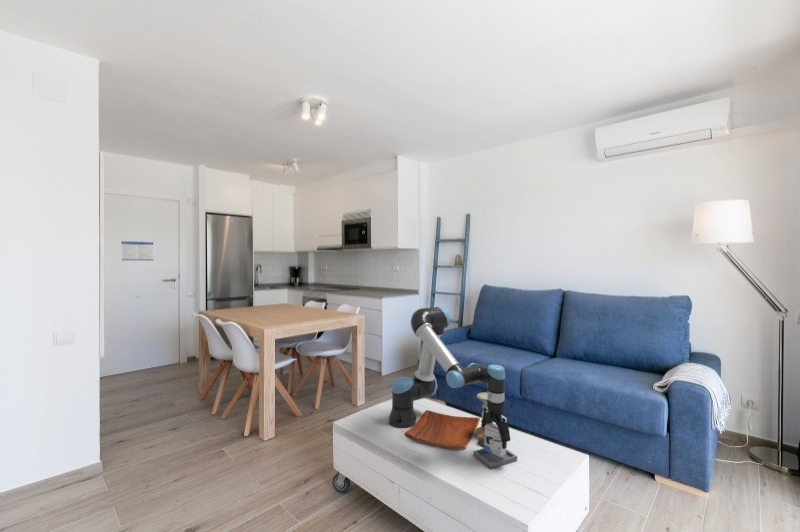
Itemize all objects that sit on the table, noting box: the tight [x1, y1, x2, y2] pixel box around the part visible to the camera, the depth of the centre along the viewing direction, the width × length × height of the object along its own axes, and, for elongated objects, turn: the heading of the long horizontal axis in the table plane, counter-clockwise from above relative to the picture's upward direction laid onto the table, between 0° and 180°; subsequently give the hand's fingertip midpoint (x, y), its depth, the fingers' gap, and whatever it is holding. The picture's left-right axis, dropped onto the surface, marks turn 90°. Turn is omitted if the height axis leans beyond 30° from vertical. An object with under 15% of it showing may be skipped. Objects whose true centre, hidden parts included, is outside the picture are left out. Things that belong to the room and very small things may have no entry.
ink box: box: [483, 422, 503, 457], centre depth 168 cm, size 8×5×12 cm, turn 47°
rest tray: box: [472, 447, 518, 470], centre depth 168 cm, size 12×15×2 cm
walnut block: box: [477, 433, 485, 448], centre depth 180 cm, size 5×5×4 cm
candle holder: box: [474, 392, 494, 438], centre depth 190 cm, size 12×12×20 cm
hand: (495, 449), depth 168 cm, fingers closed on ink box, 9 cm apart
